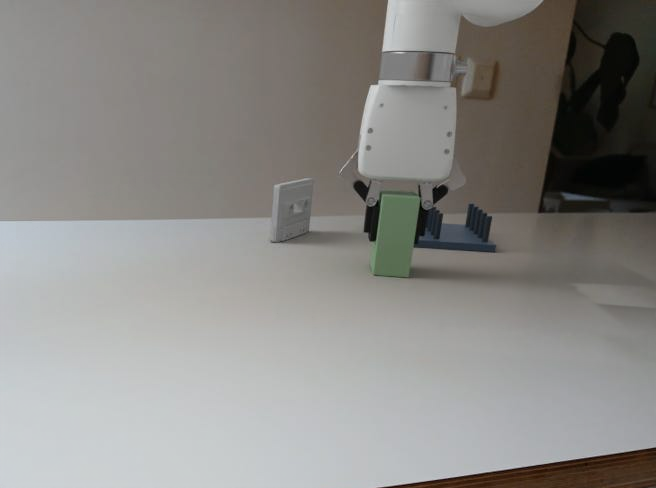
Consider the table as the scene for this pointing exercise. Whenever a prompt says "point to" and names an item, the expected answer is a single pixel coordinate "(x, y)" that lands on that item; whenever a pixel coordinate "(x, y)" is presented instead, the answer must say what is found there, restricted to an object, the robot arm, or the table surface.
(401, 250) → the block
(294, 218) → the cassette
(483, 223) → the rack
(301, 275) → the table surface
